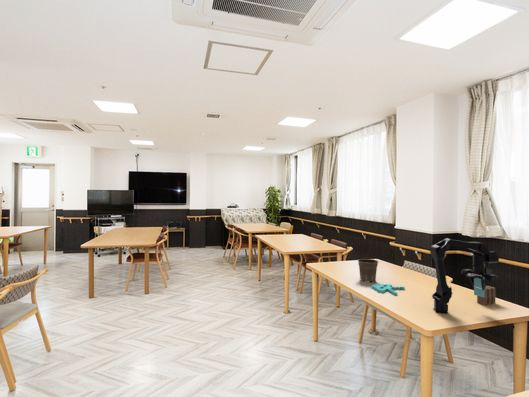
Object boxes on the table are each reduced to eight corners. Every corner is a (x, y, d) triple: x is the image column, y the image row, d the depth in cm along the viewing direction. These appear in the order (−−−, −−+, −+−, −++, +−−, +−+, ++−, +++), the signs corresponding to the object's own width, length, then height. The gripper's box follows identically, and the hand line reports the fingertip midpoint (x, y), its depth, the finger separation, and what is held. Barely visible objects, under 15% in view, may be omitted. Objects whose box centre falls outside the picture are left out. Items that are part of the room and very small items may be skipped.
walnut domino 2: (489, 304, 201) (489, 288, 201) (481, 302, 205) (481, 286, 205) (491, 304, 201) (491, 288, 201) (483, 301, 206) (483, 286, 206)
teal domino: (482, 297, 186) (481, 280, 186) (474, 294, 191) (473, 278, 191) (484, 296, 187) (484, 279, 187) (476, 294, 191) (476, 277, 191)
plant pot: (378, 283, 249) (378, 263, 249) (357, 281, 255) (357, 261, 255) (378, 278, 265) (378, 259, 265) (358, 277, 270) (358, 258, 270)
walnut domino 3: (493, 303, 202) (493, 288, 202) (485, 301, 207) (485, 286, 207) (495, 303, 203) (495, 287, 203) (487, 300, 207) (487, 285, 207)
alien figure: (404, 289, 234) (377, 285, 247) (404, 286, 234) (377, 282, 247) (396, 296, 219) (368, 290, 231) (396, 293, 219) (368, 287, 231)
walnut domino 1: (485, 305, 199) (485, 289, 199) (477, 302, 204) (477, 287, 204) (487, 304, 200) (487, 289, 200) (479, 302, 204) (479, 287, 204)
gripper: (504, 265, 183) (504, 291, 183) (473, 259, 200) (473, 283, 200) (491, 266, 179) (491, 294, 179) (460, 260, 196) (460, 285, 196)
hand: (479, 289), depth 189 cm, fingers closed on teal domino, 5 cm apart
